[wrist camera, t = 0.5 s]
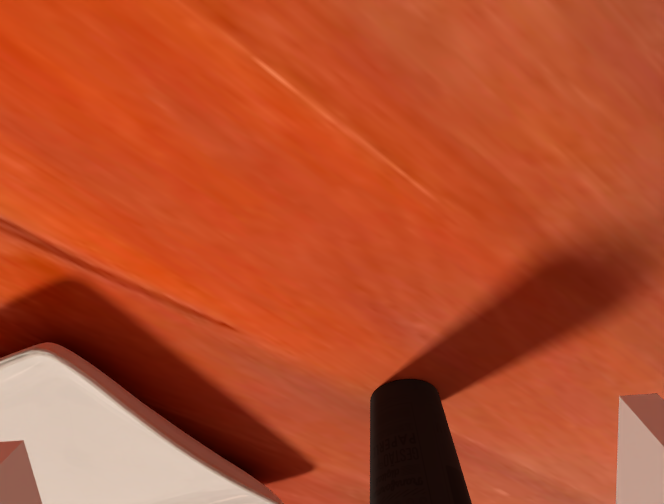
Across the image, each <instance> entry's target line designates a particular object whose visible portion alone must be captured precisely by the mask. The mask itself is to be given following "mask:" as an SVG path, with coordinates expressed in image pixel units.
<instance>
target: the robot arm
mask: <svg viewBox="0 0 664 504" xmlns="http://www.w3.org/2000/svg"><path fill="white" fill-rule="evenodd" d="M0 504H42V501H41V497H40V494H39V491H38V487H37V484H36V480H35V477H34V474H33V470H32V467H31V463H30V460H29V457H28V453H27V450H26V446H25V443H24V440H20V441H6V442H0ZM616 504H664V400H663V399H662V398H661V397H660V396H659V395H658V394H657V393H655V394H641V395H628V396H619V422H618V454H617V486H616Z"/></svg>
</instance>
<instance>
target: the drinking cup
mask: <svg viewBox="0 0 664 504" xmlns="http://www.w3.org/2000/svg"><path fill="white" fill-rule="evenodd" d="M370 504H472V503H471V499H470V496H469V493H468V489H467V486H466V483H465V480H464V476H463V473H462V470H461V466H460V463H459V460H458V456H457V453H456V450H455V446H454V443H453V440H452V437H451V433H450V430H449V427H448V423H447V420H446V417H445V413H444V410H443V407H442V403H441V400H440V397H439V393H438V391H437V389H436V388H435V387H434V386H433V385H431V384H429V383H427V382H425V381H421V380H413V379H405V380H398V381H393V382H390V383H387V384H385V385H383V386H381V387H380V388H378V389H377V390H376V391H375V392H374V393H373V394H372V396H371V400H370Z"/></svg>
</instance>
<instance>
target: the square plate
mask: <svg viewBox="0 0 664 504" xmlns="http://www.w3.org/2000/svg"><path fill="white" fill-rule="evenodd" d="M20 440H24V443H25V446H26V450H27V453H28V457H29V460H30V463H31V467H32V470H33V474H34V477H35V480H36V484H37V487H38V491H39V494H40V497H41V501H42V504H284V503H283V502H282V501H281V500H280V499H279V498H278V497H277V496H276V495H275V494H274V493H273V492H272V491H271V490H270V489H268V488H267V487H266V486H265V485H263V484H262V483H261V482H259V481H258V480H256V479H255V478H254V477H252V476H251V475H249V474H248V473H246V472H245V471H243V470H242V469H240V468H239V467H237V466H235V465H234V464H232V463H231V462H229V461H227V460H226V459H224V458H223V457H221V456H220V455H218V454H216V453H215V452H213V451H212V450H210V449H209V448H207V447H206V446H204V445H203V444H201V443H200V442H198V441H197V440H195V439H194V438H192V437H191V436H189V435H188V434H186V433H185V432H183V431H182V430H181V429H179V428H178V427H176V426H175V425H173V424H172V423H171V422H169V421H168V420H166V419H165V418H163V417H162V416H161V415H159V414H158V413H156V412H155V411H154V410H152V409H151V408H149V407H148V406H146V405H145V404H144V403H142V402H141V401H140V400H138V399H137V398H136V397H134V396H133V395H132V394H131V393H129V392H128V391H127V390H125V389H124V388H123V387H121V386H120V385H119V384H118V383H116V382H115V381H114V380H112V379H111V378H110V377H108V376H107V375H106V374H104V373H103V372H102V371H100V370H99V369H97V368H96V367H95V366H93V365H92V364H91V363H89V362H88V361H86V360H85V359H83V358H81V357H80V356H78V355H77V354H75V353H74V352H72V351H70V350H68V349H67V348H65V347H63V346H61V345H58V344H55V343H50V342H46V343H40V344H37V345H34V346H31V347H28V348H26V349H23V350H20V351H17V352H15V353H12V354H10V355H7V356H4V357H2V358H0V442H6V441H20Z"/></svg>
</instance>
